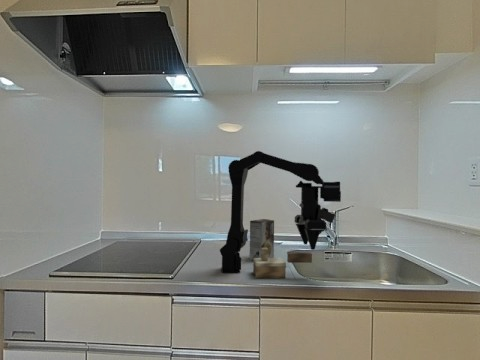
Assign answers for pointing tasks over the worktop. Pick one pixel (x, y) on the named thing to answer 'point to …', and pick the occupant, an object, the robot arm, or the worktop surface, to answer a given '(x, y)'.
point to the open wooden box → (269, 271)
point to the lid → (268, 260)
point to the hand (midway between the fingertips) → (309, 246)
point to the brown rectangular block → (299, 257)
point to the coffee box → (261, 237)
